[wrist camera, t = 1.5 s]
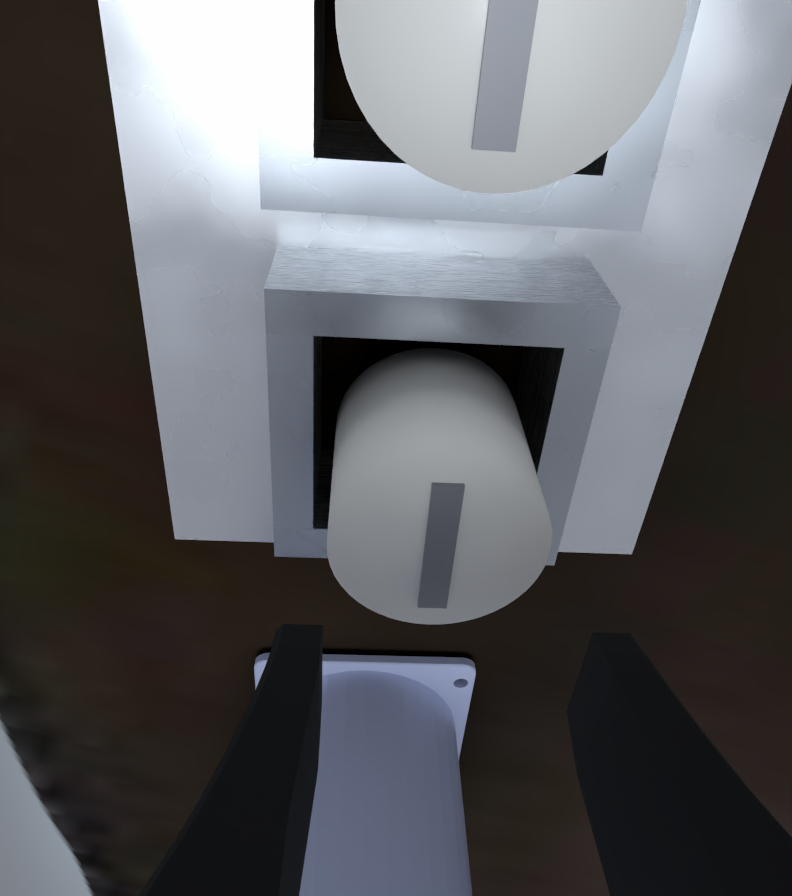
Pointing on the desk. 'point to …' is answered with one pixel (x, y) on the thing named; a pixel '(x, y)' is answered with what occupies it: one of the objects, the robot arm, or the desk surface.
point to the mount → (418, 260)
